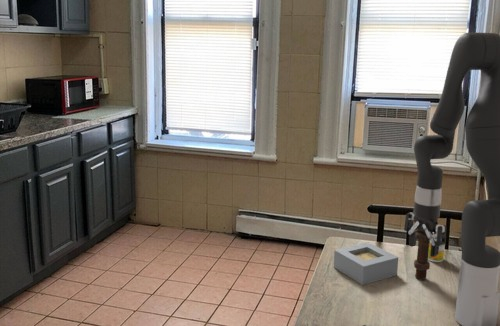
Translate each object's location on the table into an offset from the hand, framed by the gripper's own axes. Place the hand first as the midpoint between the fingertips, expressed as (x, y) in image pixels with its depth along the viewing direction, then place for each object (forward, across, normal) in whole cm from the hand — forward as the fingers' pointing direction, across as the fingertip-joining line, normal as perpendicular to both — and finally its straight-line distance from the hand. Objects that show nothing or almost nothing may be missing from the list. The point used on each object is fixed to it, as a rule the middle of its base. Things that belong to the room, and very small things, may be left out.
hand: (422, 250), depth 161 cm
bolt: (+9, 0, 0) cm, 9 cm away
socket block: (+9, +12, +12) cm, 19 cm away
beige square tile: (+6, +12, +12) cm, 18 cm away
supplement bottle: (+9, +8, -15) cm, 19 cm away
